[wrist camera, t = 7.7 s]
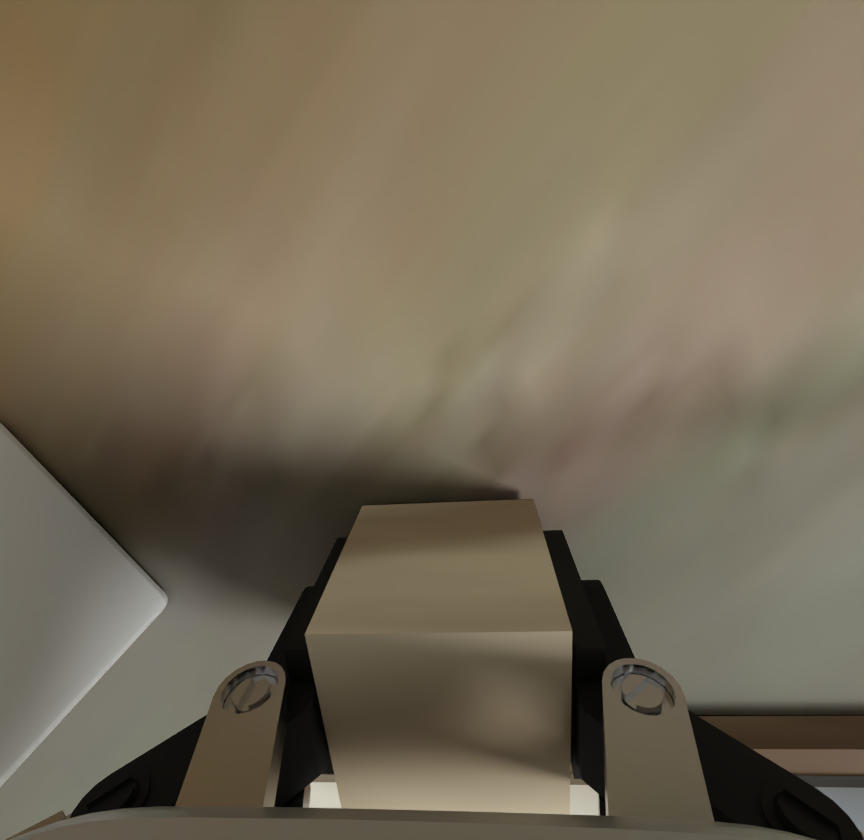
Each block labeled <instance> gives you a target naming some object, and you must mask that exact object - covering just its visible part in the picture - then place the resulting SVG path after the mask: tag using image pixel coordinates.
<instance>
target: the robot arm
mask: <svg viewBox="0 0 864 840" xmlns="http://www.w3.org/2000/svg"><path fill="white" fill-rule="evenodd" d="M543 534H544V537H545V540H546V544H547V547H548V550H549V554H550V557H551V561H552V564H553V567H554V571H555V574H556V577H557V581H558V584H559V588H560V591H561V594H562V598H563V601H564V604H565V608H566V611H567V615H568V618H569V621H570V625H571V628H572V692H571V760H570V762H571V766H572V771H573V776H574V779H582V780H583V781H584V782H585V783H586V784H587V785H589V786H590V787H591V788H592V789H593V790H594V791H596V792H597V793H598V815H568V814H537V813H505V812H470V811H432V810H391V809H350V808H309V803H310V792H311V787H310V783H311V782H313V781H314V780H315V779H316V778H318V777H319V776H320V775H321V774H329V775H334V770H333V766H332V761H331V756H330V751H329V747H328V742H327V737H326V733H325V728H324V723H323V718H322V714H321V709H320V704H319V700H318V695H317V690H316V685H315V681H314V676H313V671H312V667H311V662H310V657H309V652H308V648H307V643H306V638H305V633H306V630H307V628H308V626H309V624H310V621H311V619H312V617H313V615H314V612H315V610H316V608H317V606H318V604H319V601H320V599H321V597H322V595H323V592H324V590H325V588H326V586H327V583H328V581H329V579H330V577H331V574H332V572H333V570H334V568H335V566H336V563H337V561H338V559H339V557H340V554H341V552H342V550H343V548H344V545H345V543H346V541H347V539H348V537H345V538H338V539H337V541H336V543H335V545H334V547H333V549H332V551H331V553H330V555H329V557H328V559H327V561H326V563H325V565H324V567H323V569H322V571H321V573H320V575H319V577H318V579H317V581H316V583H315V585H314V587H307V588H305V589H304V591H303V592H302V594H301V596H300V598H299V600H298V602H297V604H296V606H295V608H294V610H293V612H292V614H291V615H290V617H289V619H288V621H287V623H286V625H285V627H284V629H283V631H282V633H281V635H280V637H279V639H278V641H277V642H276V644H275V646H274V648H273V650H272V652H271V654H270V656H269V658H268V660H267V661H256V662H253V663H250V664H246V665H244V666H243V667H241V668H239V669H237V670H235V671H234V672H233V673H231V674H230V675H229V676H227V677H226V678H225V680H224V681H223V682H222V683H221V684H220V685H219V687H218V688H217V690H216V692H215V694H214V696H213V699H212V702H211V705H210V708H209V711H208V714H207V715H206V716H204V717H203V718H201V719H199V720H198V721H196V722H194V723H193V724H191V725H190V726H188V727H186V728H185V729H183V730H182V731H180V732H178V733H177V734H175V735H173V736H172V737H170V738H169V739H167V740H165V741H164V742H162V743H160V744H159V745H157V746H156V747H154V748H152V749H151V750H149V751H148V752H146V753H144V754H143V755H141V756H139V757H138V758H136V759H135V760H133V761H131V762H130V763H128V764H126V765H125V766H123V767H122V768H120V769H118V770H117V771H115V772H114V773H112V774H110V775H109V776H107V777H106V778H105V779H103V780H102V781H101V782H99V783H98V784H97V785H95V786H94V787H93V788H92V789H91V790H90V791H89V792H88V793H87V794H86V795H85V796H84V797H83V798H82V800H81V801H80V802H79V804H78V805H77V807H76V808H75V809H74V811H73V812H72V813H71V814H69V815H68V816H65V814H64V812H63V810H62V811H60V812H58V813H56V814H54V815H52V816H50V817H49V818H47V819H45V820H43V821H41V822H39V823H37V824H35V825H33V826H31V827H29V828H27V829H25V830H23V831H21V832H20V833H18V834H16V835H14V836H12V837H10V838H8V839H6V840H864V832H862V831H860V830H859V829H858V828H857V827H856V825H855V824H854V822H853V821H852V820H851V818H850V817H849V816H848V815H847V814H846V813H845V812H844V811H843V810H842V809H841V808H840V807H839V806H838V805H837V804H836V803H835V802H834V801H833V800H832V799H830V798H829V797H828V796H826V795H825V794H823V793H822V792H821V791H819V790H818V789H817V788H815V787H813V786H812V785H810V784H808V783H807V782H805V781H804V780H802V779H800V778H799V777H797V776H795V775H794V774H792V773H790V772H789V771H787V770H785V769H784V768H782V767H781V766H779V765H777V764H776V763H774V762H772V761H771V760H769V759H767V758H766V757H764V756H762V755H761V754H759V753H757V752H756V751H754V750H753V749H751V748H749V747H748V746H746V745H744V744H743V743H741V742H739V741H738V740H736V739H734V738H733V737H731V736H730V735H728V734H726V733H725V732H723V731H721V730H720V729H718V728H716V727H715V726H713V725H711V724H710V723H708V722H707V721H705V720H703V719H702V718H700V717H698V716H697V715H695V714H693V713H692V712H690V711H688V708H687V704H686V700H685V696H684V694H683V691H682V689H681V687H680V685H679V684H678V682H677V681H676V680H675V679H674V678H673V676H672V675H670V674H669V673H668V672H667V671H665V670H664V669H663V668H661V667H659V666H657V665H655V664H653V663H651V662H649V661H645V660H641V659H636V658H635V657H634V655H633V653H632V650H631V648H630V646H629V644H628V641H627V639H626V637H625V634H624V632H623V630H622V628H621V625H620V623H619V621H618V619H617V616H616V614H615V612H614V610H613V607H612V605H611V603H610V600H609V598H608V596H607V594H606V591H605V589H604V587H603V585H602V583H601V581H599V580H581V579H580V576H579V573H578V571H577V568H576V565H575V563H574V560H573V557H572V555H571V552H570V549H569V547H568V544H567V541H566V539H565V536H564V534H563V531H562V530H552V531H543Z"/></svg>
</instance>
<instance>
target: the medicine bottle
mask: <svg viewBox="0 0 864 840" xmlns="http://www.w3.org/2000/svg"><path fill="white" fill-rule="evenodd" d="M167 602H168V597H167V595H166V594H165V592H164V591H163V590H162V589H161V588H160V587H159V586H158V585H157V584H156V583H155V582H154V581H153V580H152V579H151V578H150V576H149V575H148V574H147V573H146V572H145V571H144V570H143V569H142V568H141V567H140V566H139V565H138V564H137V563H136V562H135V561H134V560H133V559H132V558H131V557H130V556H129V555H128V554H127V553H126V552H125V551H124V550H123V549H122V548H121V547H120V545H119V544H118V543H117V542H116V541H115V540H114V539H113V538H112V537H111V536H110V535H109V534H108V533H107V532H106V531H105V530H104V529H103V528H102V527H101V526H100V525H99V524H98V523H97V522H96V521H95V520H94V519H93V518H92V517H91V515H90V514H89V513H88V512H87V511H86V510H85V509H84V508H83V507H82V506H81V505H80V504H79V503H78V502H77V501H76V500H75V499H74V498H73V497H72V496H71V495H70V494H69V493H68V492H67V491H66V490H65V489H64V488H63V487H62V485H61V484H60V483H59V482H58V481H57V480H56V479H55V478H54V477H53V476H52V475H51V474H50V473H49V472H48V471H47V470H46V469H45V468H44V467H43V466H42V465H41V464H40V463H39V462H38V461H37V460H36V459H35V458H34V457H33V456H32V454H31V453H30V452H29V451H28V450H27V449H26V448H25V447H24V446H23V445H22V444H21V443H20V442H19V441H18V440H17V439H16V438H15V437H14V436H13V435H12V434H11V433H10V432H9V431H8V430H7V429H6V428H5V427H4V426H3V424H1V423H0V787H1V786H2V785H3V783H4V782H5V781H6V780H7V779H8V778H9V777H10V776H11V775H12V774H13V773H14V772H15V770H16V769H17V768H18V767H19V766H20V765H21V764H22V763H23V762H24V761H25V760H26V758H27V757H28V756H29V755H30V754H31V753H32V752H33V751H34V750H35V749H36V748H37V747H38V745H39V744H40V743H41V742H42V741H43V740H44V739H45V738H46V737H47V736H48V735H49V733H50V732H51V731H52V730H53V729H54V728H55V727H56V726H57V725H58V724H59V723H60V722H61V720H62V719H63V718H64V717H65V716H66V715H67V714H68V713H69V712H70V711H71V710H72V708H73V707H74V706H75V705H76V704H77V703H78V702H79V701H80V700H81V699H82V698H83V697H84V695H85V694H86V693H87V692H88V691H89V690H90V689H91V688H92V687H93V686H94V685H95V683H96V682H97V681H98V680H99V679H100V678H101V677H102V676H103V675H104V674H105V673H106V672H107V670H108V669H109V668H110V667H111V666H112V665H113V664H114V663H115V662H116V661H117V660H118V658H119V657H120V656H121V655H122V654H123V653H124V652H125V651H126V650H127V649H128V648H129V647H130V645H131V644H132V643H133V642H134V641H135V640H136V639H137V638H138V637H139V636H140V635H141V633H142V632H143V631H144V630H145V629H146V628H147V627H148V626H149V625H150V624H151V623H152V621H153V620H154V619H155V618H156V617H157V616H158V615H159V614H160V613H161V612H162V611H163V609H164V608H165V607H166V604H167Z"/></svg>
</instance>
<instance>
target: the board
mask: <svg viewBox="0 0 864 840" xmlns="http://www.w3.org/2000/svg"><path fill="white" fill-rule="evenodd" d="M698 717H700V718H702V719H703V720H705V721H707V722H708V723H710V724H711V725H713V726H715V727H716V728H718V729H720V730H721V731H723V732H725V733H726V734H728V735H730V736H731V737H733V738H734V739H736V740H738V741H739V742H741V743H743V744H744V745H746V746H748V747H749V748H751V749H753V750H754V751H756V752H757V753H759V754H761V755H762V756H764V757H766V758H767V759H769V760H771V761H772V762H774V763H776V764H777V765H779V766H781V767H782V768H784V769H785V770H787V771H789V772H790V773H792V774H794V775H795V776H797V777H799V778H800V779H802V780H804V781H805V782H807V783H808V784H810V785H812V786H813V787H815V788H817V789H818V790H819V791H821V792H822V793H823V794H825V795H826V796H828V797H829V798H830V799H832V800H833V801H834V802H835V803H836V804H837V805H838V806H839V807H840V808H841V809H842V810H843V811H844V812H845V813H846V814H847V815H848V816H849V817H850V818H851V820H852V821H853V822H854V824H855V825H856V827H857V828H858V829H859V830H860V831H862V832H864V716H698ZM310 787H311V792H310V803H309V808H341V803H340V799H339V794H338V789H337V784H336V780H335V775H329V774H321V775H320V776H319V777H318V778H316V779H315V780H314V781H313V782H311V783H310ZM570 815H598V793H597V792H596V791H594V790H593V789H592V788H591V787H590V786H589V785H587V784H586V783H585V782H584V781H583V780H582V779H574V776H573V771H572V766H571V762H570Z"/></svg>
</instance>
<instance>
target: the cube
mask: <svg viewBox="0 0 864 840" xmlns="http://www.w3.org/2000/svg"><path fill="white" fill-rule="evenodd" d="M305 638H306V643H307V648H308V652H309V657H310V662H311V667H312V671H313V676H314V681H315V685H316V690H317V695H318V700H319V704H320V709H321V714H322V718H323V723H324V728H325V733H326V737H327V742H328V747H329V751H330V756H331V761H332V766H333V770H334V775H335V780H336V784H337V789H338V794H339V799H340V803H341V808H350V809H391V810H432V811H470V812H505V813H537V814H568V815H570V760H571V692H572V628H571V625H570V621H569V618H568V615H567V611H566V608H565V604H564V601H563V598H562V594H561V591H560V588H559V584H558V581H557V577H556V574H555V571H554V567H553V564H552V561H551V557H550V554H549V550H548V547H547V544H546V540H545V537H544V534H543V530H542V527H541V523H540V520H539V517H538V513H537V510H536V507H535V503H534V500H533V499H518V500H493V501H468V502H442V503H417V504H392V505H367V506H362V507H361V510H360V512H359V514H358V516H357V519H356V521H355V523H354V525H353V527H352V530H351V532H350V534H349V536H348V539H347V541H346V543H345V545H344V548H343V550H342V552H341V554H340V557H339V559H338V561H337V563H336V566H335V568H334V570H333V572H332V574H331V577H330V579H329V581H328V583H327V586H326V588H325V590H324V592H323V595H322V597H321V599H320V601H319V604H318V606H317V608H316V610H315V612H314V615H313V617H312V619H311V621H310V624H309V626H308V628H307V630H306V633H305Z"/></svg>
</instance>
